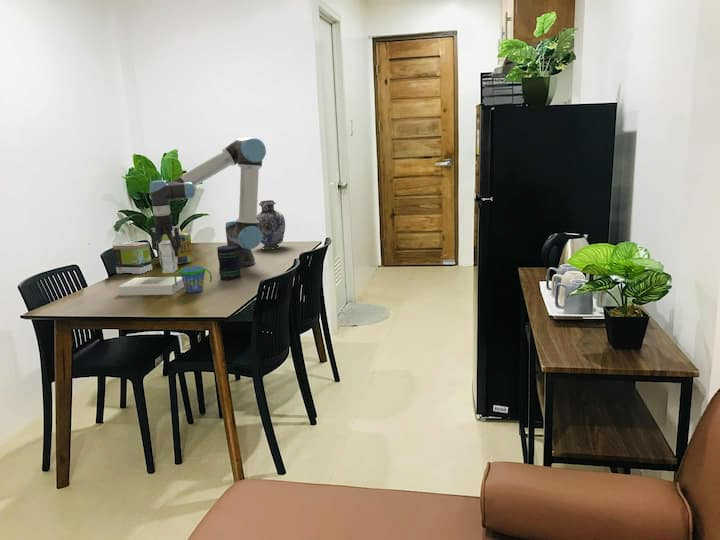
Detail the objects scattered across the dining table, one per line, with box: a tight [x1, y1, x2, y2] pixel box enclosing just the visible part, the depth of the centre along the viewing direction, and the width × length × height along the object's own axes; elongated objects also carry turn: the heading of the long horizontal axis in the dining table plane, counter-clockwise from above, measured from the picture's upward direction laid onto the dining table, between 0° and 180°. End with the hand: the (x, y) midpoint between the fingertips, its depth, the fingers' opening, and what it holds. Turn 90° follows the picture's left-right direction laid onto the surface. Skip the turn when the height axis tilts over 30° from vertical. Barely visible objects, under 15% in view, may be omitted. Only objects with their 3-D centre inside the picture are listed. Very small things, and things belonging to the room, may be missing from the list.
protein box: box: [162, 231, 194, 266], centre depth 324 cm, size 10×15×16 cm
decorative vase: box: [257, 199, 286, 250], centre depth 350 cm, size 21×19×28 cm
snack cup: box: [174, 265, 213, 294], centre depth 260 cm, size 16×10×10 cm
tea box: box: [112, 241, 153, 275], centre depth 304 cm, size 15×10×15 cm, turn 71°
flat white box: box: [117, 276, 185, 296], centre depth 265 cm, size 24×16×4 cm, turn 85°
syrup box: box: [158, 240, 179, 274], centre depth 279 cm, size 6×6×14 cm
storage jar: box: [216, 244, 242, 282], centre depth 281 cm, size 10×10×15 cm
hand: (169, 263), depth 280 cm, fingers closed on syrup box, 6 cm apart
